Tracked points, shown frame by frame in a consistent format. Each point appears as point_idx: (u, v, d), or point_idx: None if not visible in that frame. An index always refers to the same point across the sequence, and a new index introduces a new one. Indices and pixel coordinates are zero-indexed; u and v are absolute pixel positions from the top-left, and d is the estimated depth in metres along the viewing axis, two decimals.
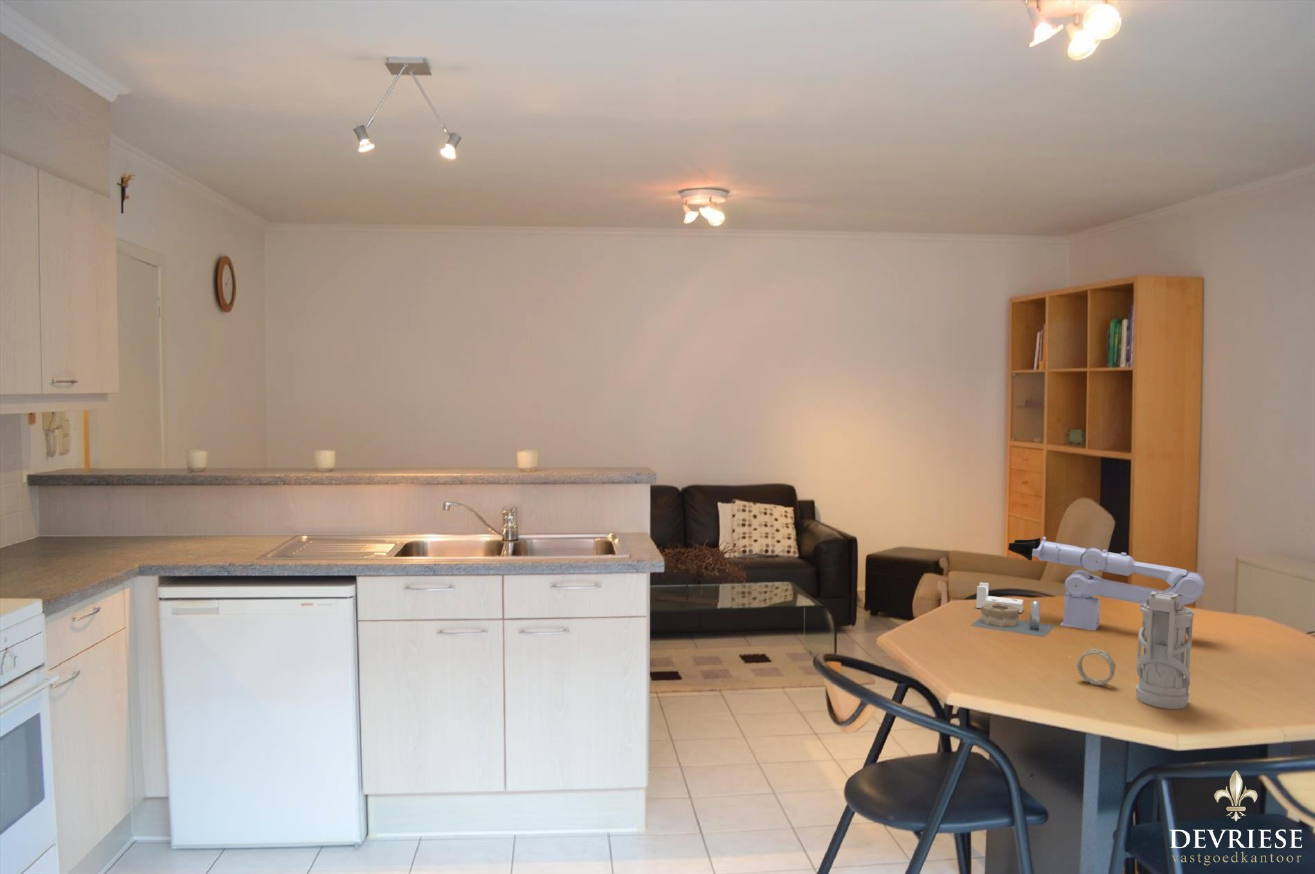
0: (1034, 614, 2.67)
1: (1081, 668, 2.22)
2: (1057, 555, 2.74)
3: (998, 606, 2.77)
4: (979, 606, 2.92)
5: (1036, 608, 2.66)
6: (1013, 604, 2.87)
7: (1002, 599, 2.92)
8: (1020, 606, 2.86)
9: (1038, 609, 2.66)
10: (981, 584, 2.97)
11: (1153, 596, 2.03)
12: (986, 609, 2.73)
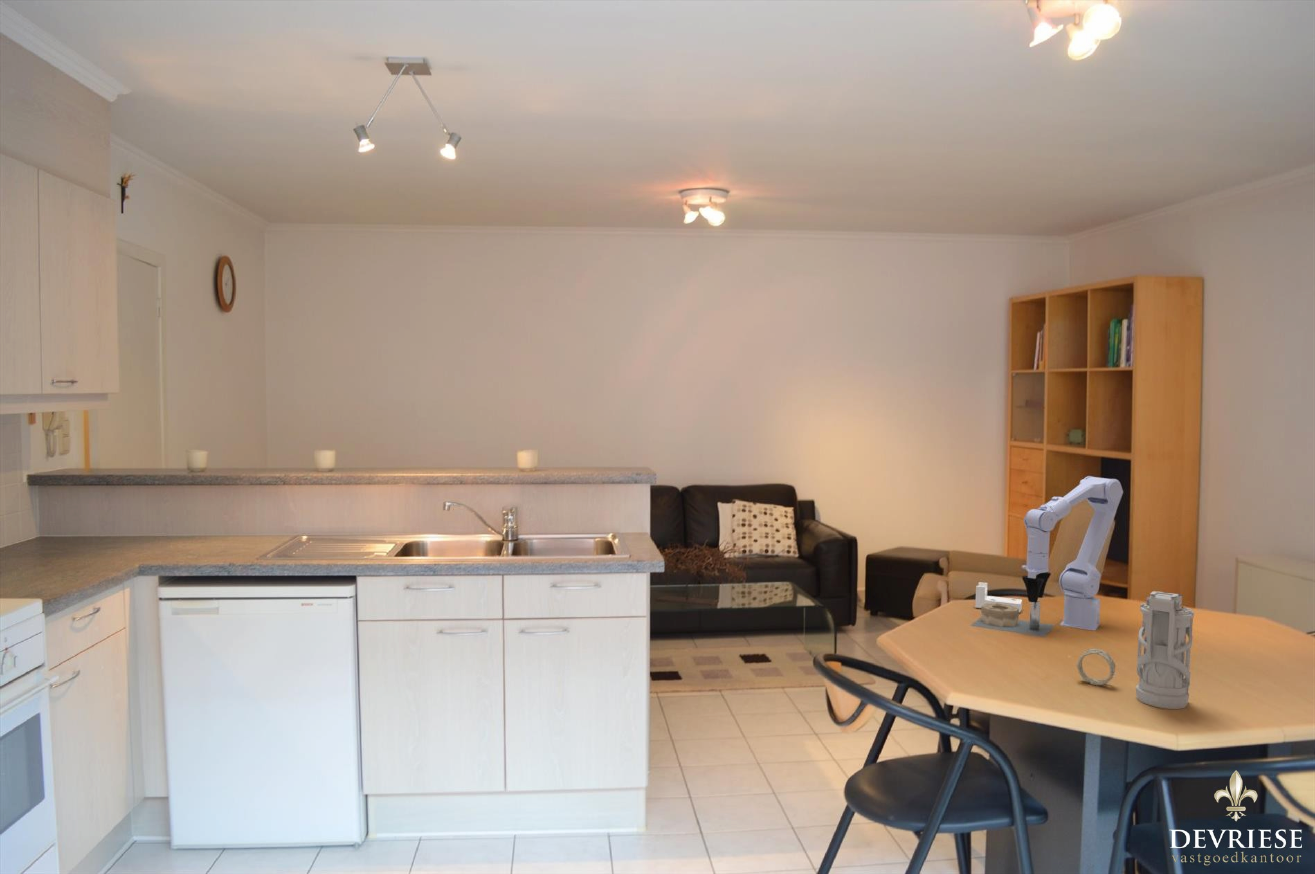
0: (1034, 614, 2.67)
1: (1081, 668, 2.22)
2: (1036, 553, 2.64)
3: (998, 606, 2.77)
4: (978, 606, 2.92)
5: (1036, 608, 2.66)
6: (1012, 604, 2.87)
7: (1001, 599, 2.93)
8: (1019, 606, 2.87)
9: (1038, 609, 2.66)
10: (980, 584, 2.97)
11: (1153, 596, 2.03)
12: (986, 609, 2.73)
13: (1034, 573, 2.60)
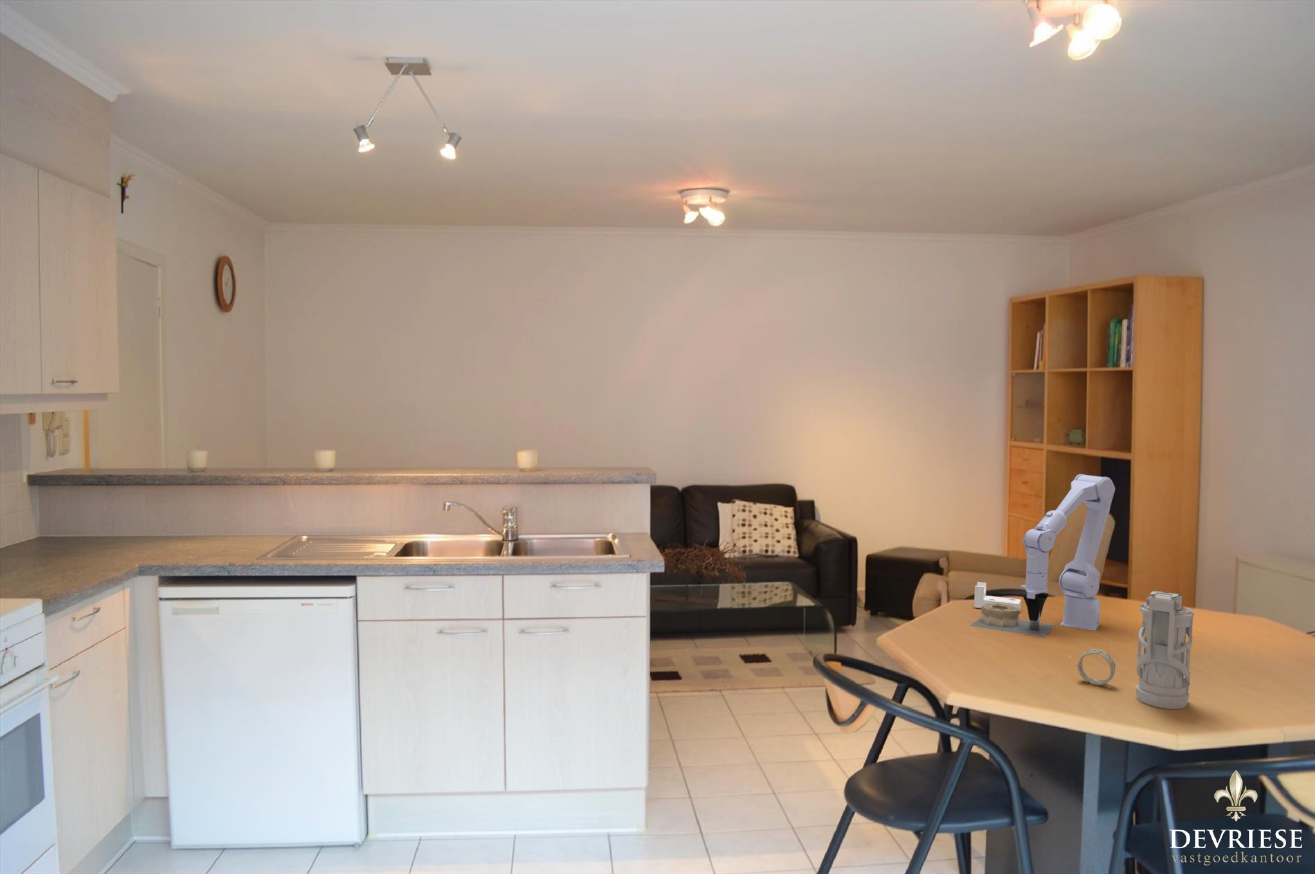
0: None
1: (1081, 668, 2.22)
2: (1035, 574, 2.65)
3: (998, 606, 2.77)
4: (977, 606, 2.92)
5: None
6: (1011, 604, 2.88)
7: (1000, 599, 2.93)
8: (1018, 606, 2.87)
9: None
10: (979, 584, 2.97)
11: (1153, 596, 2.03)
12: (986, 609, 2.73)
13: (1033, 593, 2.61)
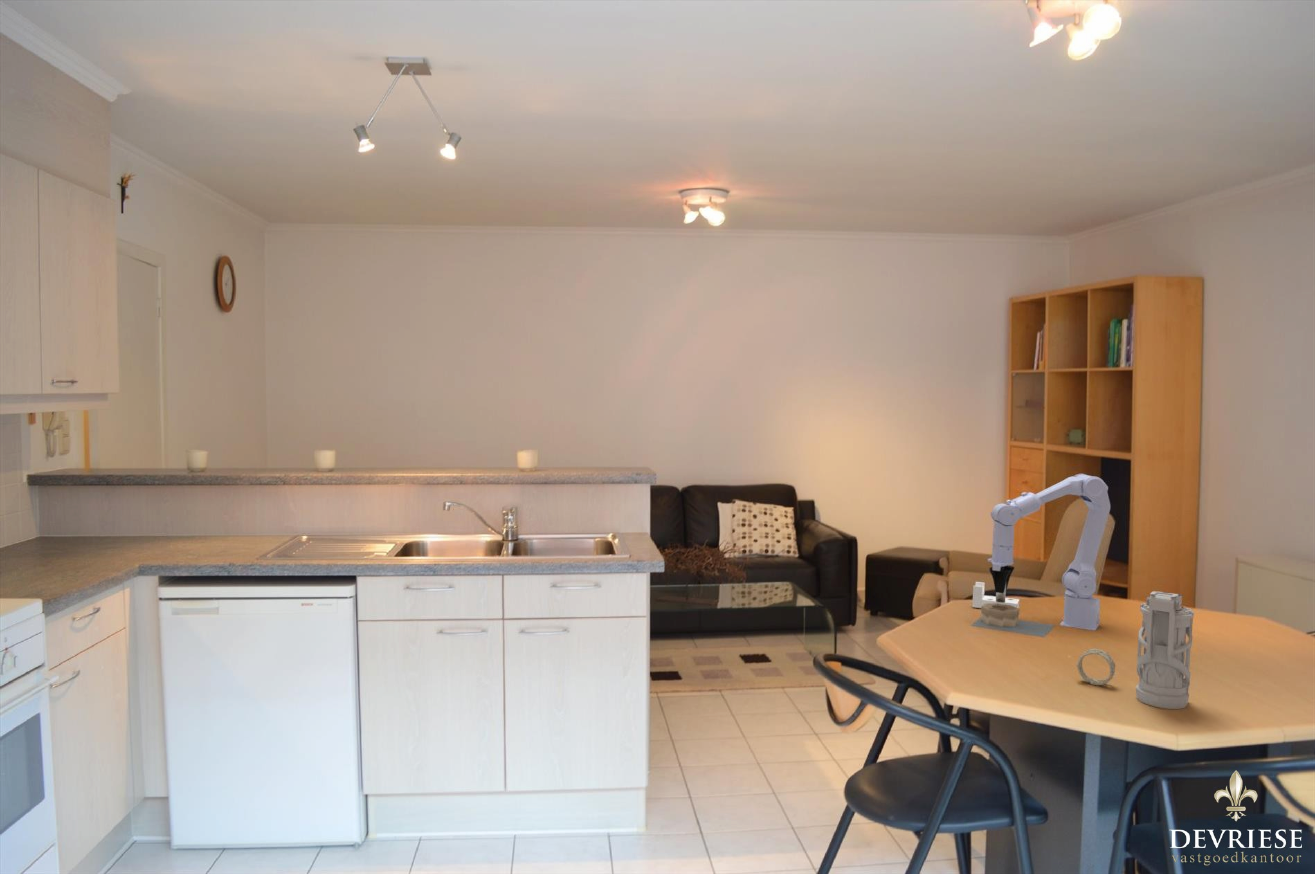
0: None
1: (1081, 668, 2.22)
2: (1001, 547, 2.71)
3: (998, 606, 2.77)
4: (975, 605, 2.92)
5: None
6: (1009, 604, 2.88)
7: None
8: (1016, 606, 2.87)
9: None
10: (977, 583, 2.97)
11: (1153, 596, 2.03)
12: (986, 609, 2.73)
13: (998, 566, 2.68)
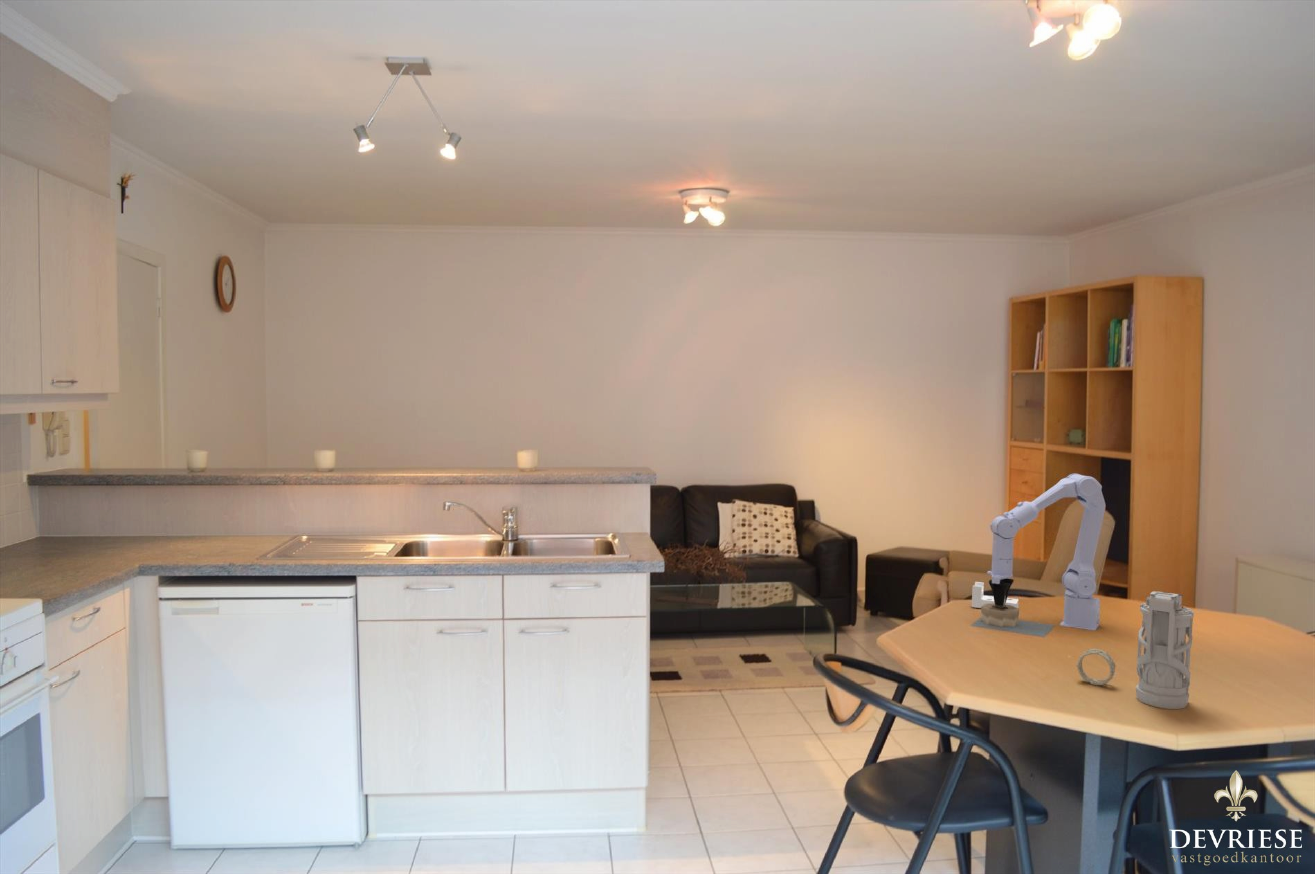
0: None
1: (1081, 668, 2.22)
2: (1001, 560, 2.71)
3: None
4: (974, 605, 2.92)
5: None
6: (1008, 603, 2.88)
7: None
8: (1015, 605, 2.87)
9: None
10: (976, 583, 2.97)
11: (1153, 596, 2.03)
12: (986, 609, 2.73)
13: (998, 579, 2.68)
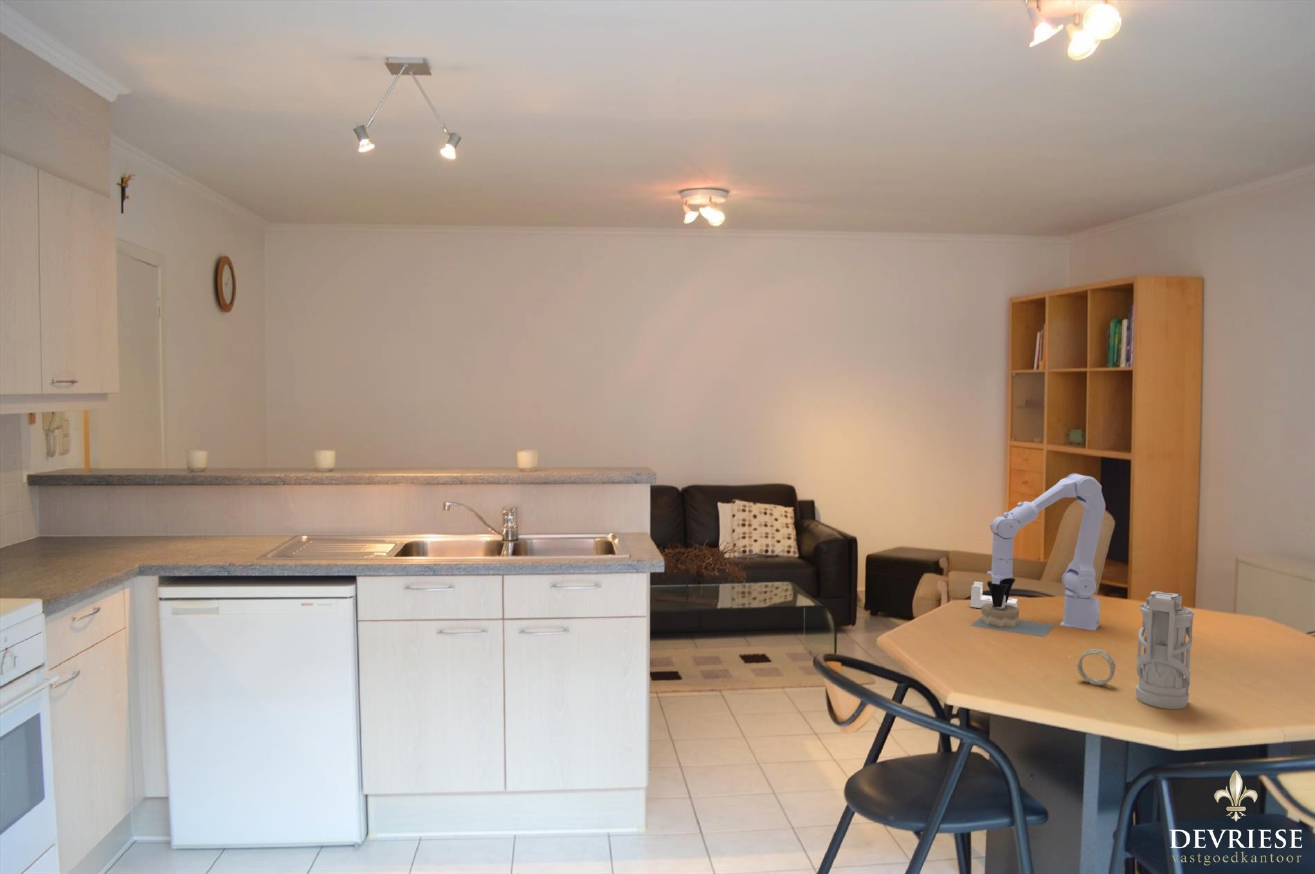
0: (1000, 607, 2.74)
1: (1081, 668, 2.22)
2: (1001, 560, 2.71)
3: None
4: (973, 605, 2.92)
5: None
6: (1007, 603, 2.88)
7: None
8: (1014, 605, 2.87)
9: (1003, 602, 2.74)
10: (975, 583, 2.98)
11: (1153, 596, 2.03)
12: (986, 609, 2.73)
13: (998, 579, 2.68)
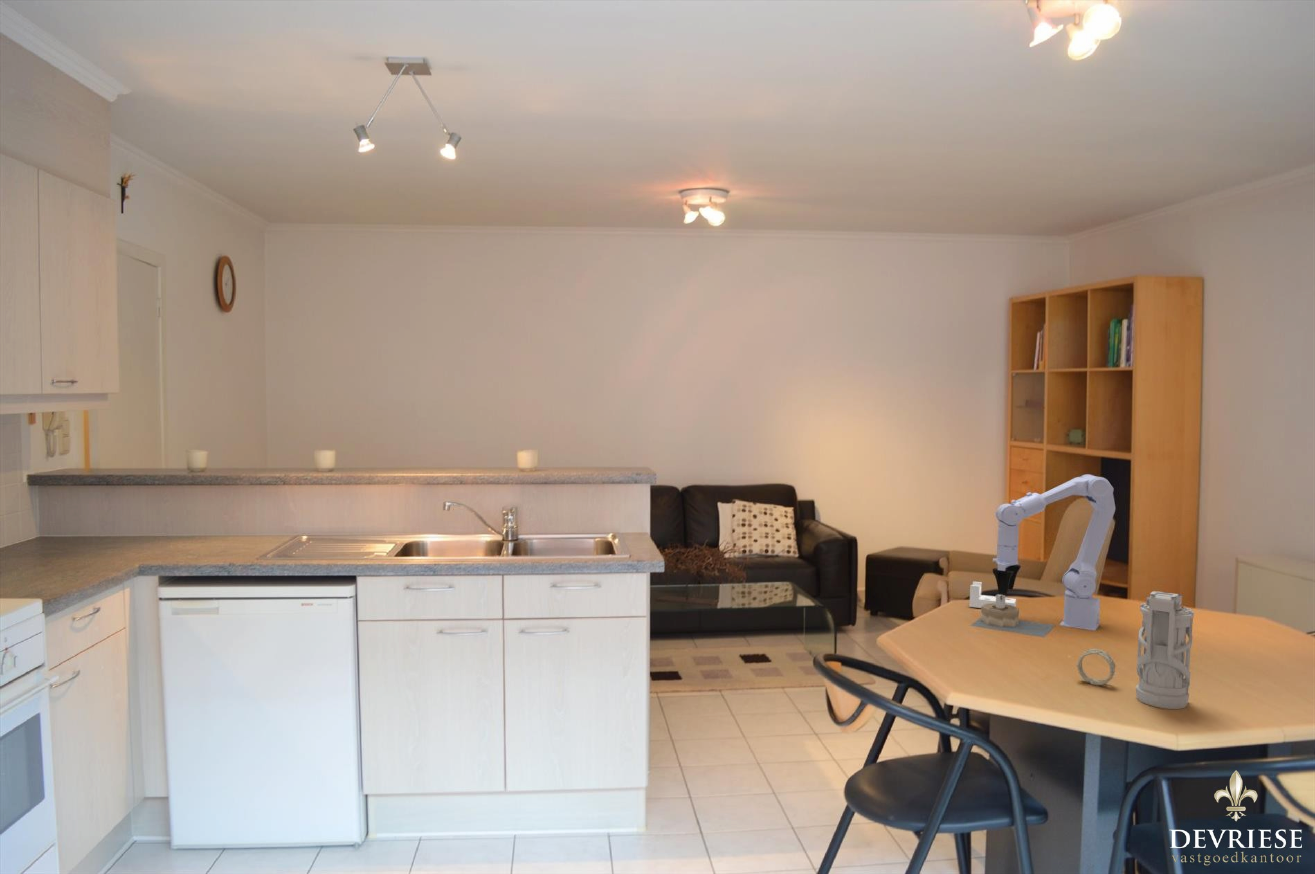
0: (999, 607, 2.74)
1: (1081, 668, 2.22)
2: (1006, 547, 2.72)
3: None
4: (972, 605, 2.92)
5: (1001, 602, 2.73)
6: (1006, 603, 2.88)
7: (995, 598, 2.93)
8: (1013, 605, 2.87)
9: (1003, 603, 2.74)
10: (974, 583, 2.98)
11: (1153, 596, 2.03)
12: (986, 609, 2.73)
13: (1003, 566, 2.69)
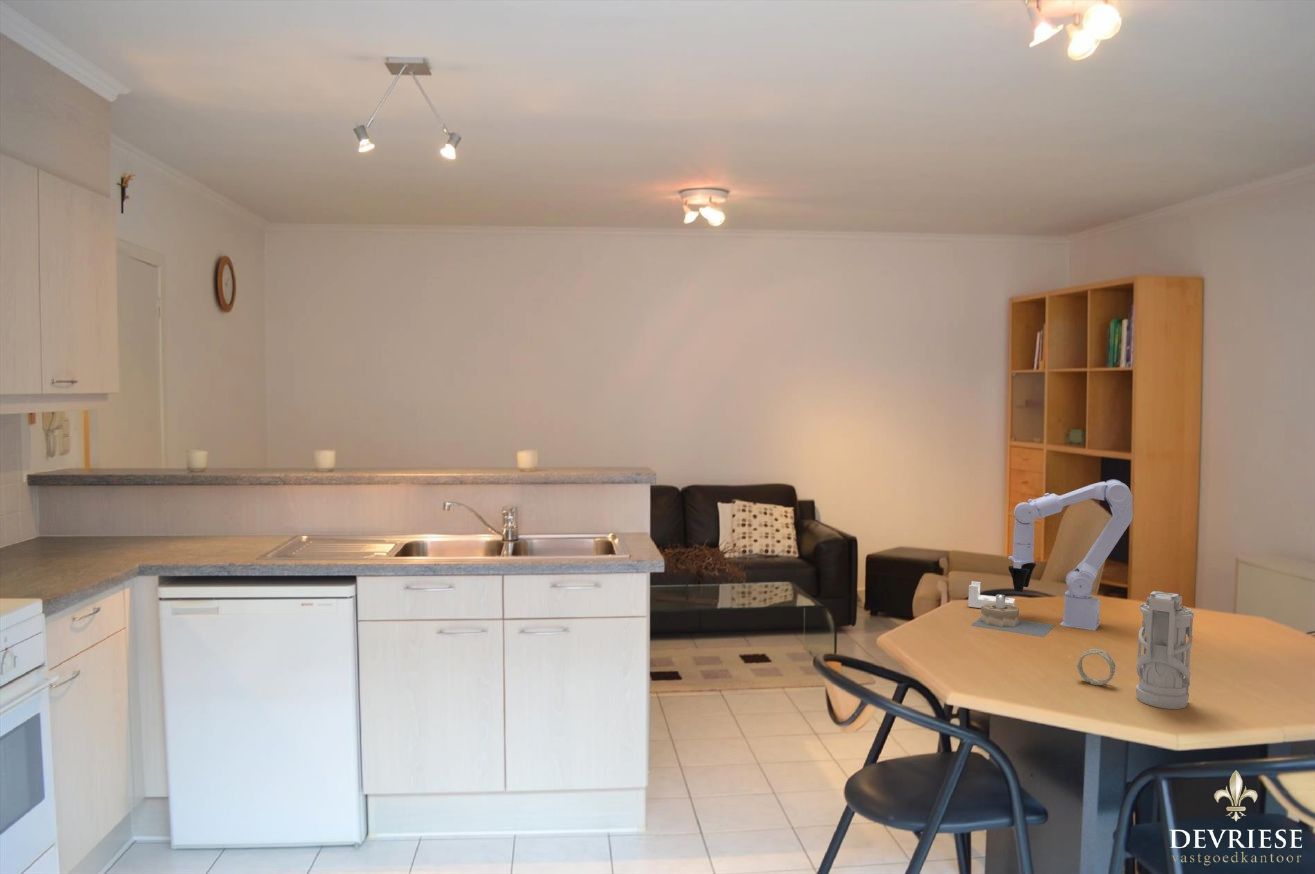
0: (999, 607, 2.74)
1: (1081, 668, 2.22)
2: (1022, 545, 2.76)
3: None
4: (971, 605, 2.93)
5: (1001, 602, 2.73)
6: (1005, 603, 2.88)
7: (994, 598, 2.94)
8: None
9: (1003, 602, 2.74)
10: (973, 583, 2.98)
11: (1153, 596, 2.03)
12: (986, 609, 2.73)
13: (1019, 563, 2.72)
